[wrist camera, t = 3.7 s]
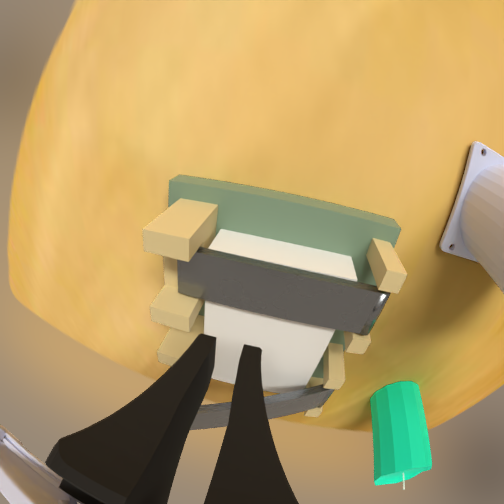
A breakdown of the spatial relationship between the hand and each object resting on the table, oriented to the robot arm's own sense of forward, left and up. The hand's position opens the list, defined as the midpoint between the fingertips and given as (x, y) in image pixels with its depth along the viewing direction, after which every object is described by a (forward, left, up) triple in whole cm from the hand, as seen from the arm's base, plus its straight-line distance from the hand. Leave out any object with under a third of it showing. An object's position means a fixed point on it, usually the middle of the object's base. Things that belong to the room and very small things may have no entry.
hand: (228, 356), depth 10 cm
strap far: (-2, +9, -3) cm, 10 cm away
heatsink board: (-1, +5, -9) cm, 10 cm away
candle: (-18, +15, -9) cm, 25 cm away
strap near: (-2, 0, -5) cm, 5 cm away
